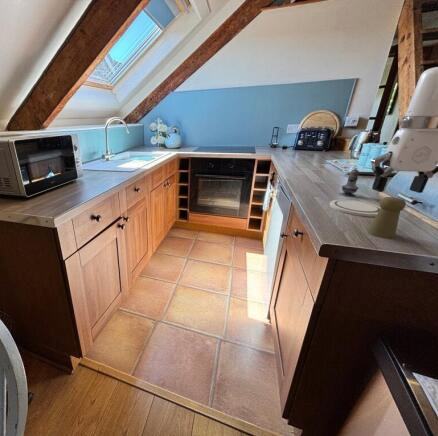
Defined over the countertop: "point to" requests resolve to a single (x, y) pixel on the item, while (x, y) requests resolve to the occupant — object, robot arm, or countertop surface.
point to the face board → (355, 207)
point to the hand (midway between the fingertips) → (396, 191)
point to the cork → (387, 217)
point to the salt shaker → (351, 184)
